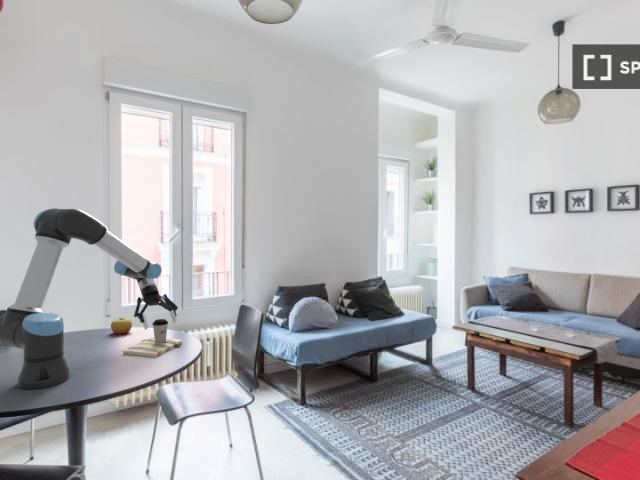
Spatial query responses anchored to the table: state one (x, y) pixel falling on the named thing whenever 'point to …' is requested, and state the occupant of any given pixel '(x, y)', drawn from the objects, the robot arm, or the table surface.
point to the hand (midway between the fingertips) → (161, 325)
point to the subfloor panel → (152, 347)
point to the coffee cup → (160, 330)
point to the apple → (121, 325)
